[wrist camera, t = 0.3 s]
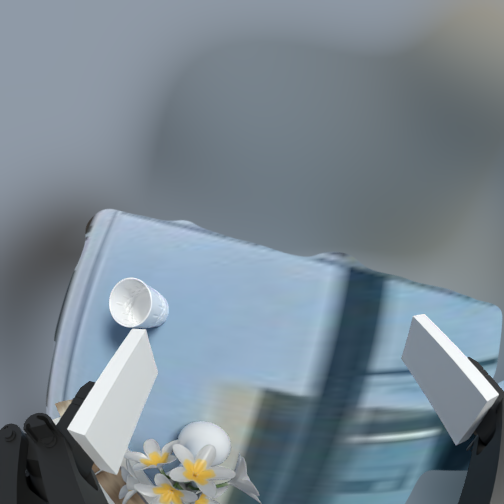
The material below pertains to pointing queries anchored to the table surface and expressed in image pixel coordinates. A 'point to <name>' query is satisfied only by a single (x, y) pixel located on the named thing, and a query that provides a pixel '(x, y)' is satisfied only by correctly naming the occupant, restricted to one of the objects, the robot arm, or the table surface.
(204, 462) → the flower vase
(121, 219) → the table surface
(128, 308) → the white cup
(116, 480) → the fixed fence section
